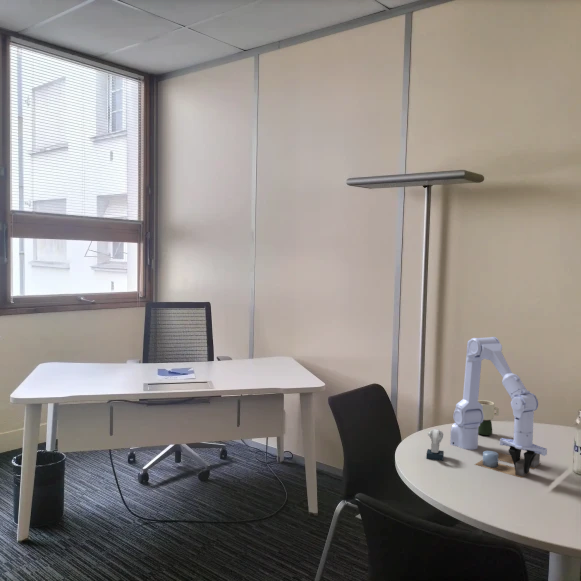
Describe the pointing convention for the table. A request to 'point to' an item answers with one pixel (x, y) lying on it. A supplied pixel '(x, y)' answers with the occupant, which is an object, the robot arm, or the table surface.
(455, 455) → the table surface
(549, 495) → the table surface
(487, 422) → the character mug
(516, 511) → the table surface
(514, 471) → the strip
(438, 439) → the white figurine on base
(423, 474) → the table surface
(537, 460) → the strip empty
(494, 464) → the blue-grey rounded block
